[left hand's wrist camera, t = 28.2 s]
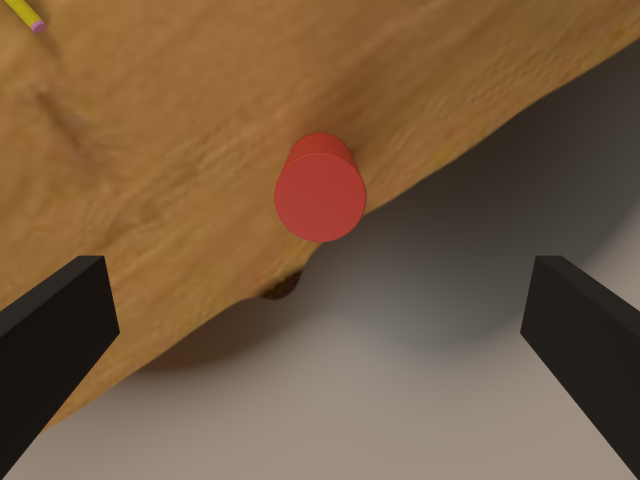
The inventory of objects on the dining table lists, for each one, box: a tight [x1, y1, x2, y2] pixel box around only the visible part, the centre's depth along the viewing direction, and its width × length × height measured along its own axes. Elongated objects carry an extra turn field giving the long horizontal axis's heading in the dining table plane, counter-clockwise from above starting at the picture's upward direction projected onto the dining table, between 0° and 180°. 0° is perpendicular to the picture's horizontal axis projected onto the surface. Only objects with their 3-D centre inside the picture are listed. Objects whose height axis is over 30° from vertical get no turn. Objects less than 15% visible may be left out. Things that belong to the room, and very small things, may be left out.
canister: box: [274, 133, 366, 242], centre depth 28 cm, size 5×5×10 cm
